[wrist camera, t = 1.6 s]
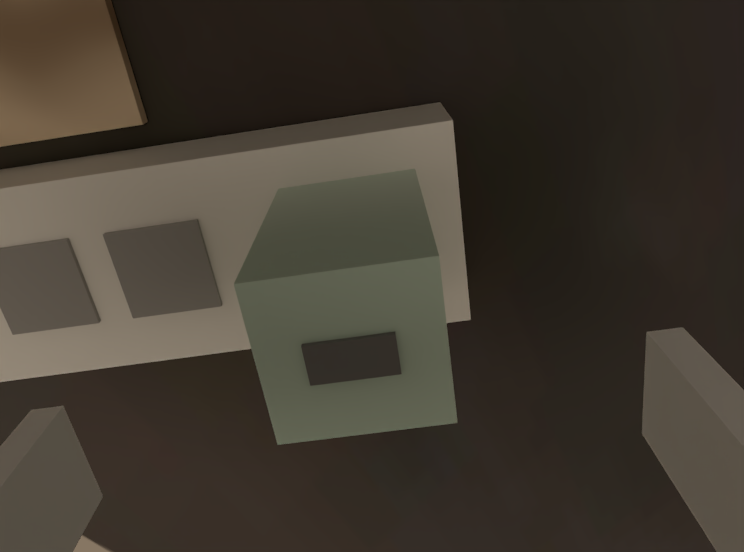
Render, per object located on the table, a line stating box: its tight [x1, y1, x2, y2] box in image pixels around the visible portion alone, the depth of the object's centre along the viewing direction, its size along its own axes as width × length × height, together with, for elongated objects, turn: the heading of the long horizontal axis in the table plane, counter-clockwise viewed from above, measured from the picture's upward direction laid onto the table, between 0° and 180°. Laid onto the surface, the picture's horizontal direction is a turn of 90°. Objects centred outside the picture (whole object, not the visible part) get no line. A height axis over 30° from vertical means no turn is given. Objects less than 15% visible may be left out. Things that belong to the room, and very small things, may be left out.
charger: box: [234, 169, 457, 445], centre depth 20 cm, size 5×5×10 cm
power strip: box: [0, 102, 471, 382], centre depth 25 cm, size 26×8×4 cm, turn 98°
